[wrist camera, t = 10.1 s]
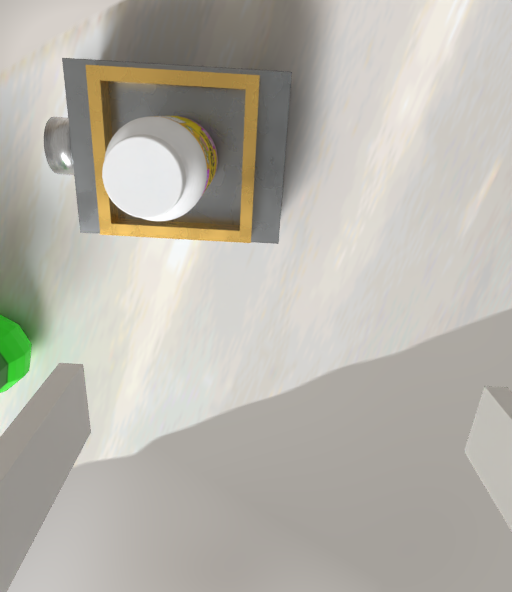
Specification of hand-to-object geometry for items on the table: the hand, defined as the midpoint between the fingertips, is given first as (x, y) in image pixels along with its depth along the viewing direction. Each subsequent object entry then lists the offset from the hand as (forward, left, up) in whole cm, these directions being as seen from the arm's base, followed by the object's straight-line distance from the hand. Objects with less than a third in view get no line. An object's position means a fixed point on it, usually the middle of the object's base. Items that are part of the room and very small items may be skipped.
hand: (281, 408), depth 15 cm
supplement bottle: (+8, -5, -27) cm, 28 cm away
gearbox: (+9, -5, -35) cm, 36 cm away
